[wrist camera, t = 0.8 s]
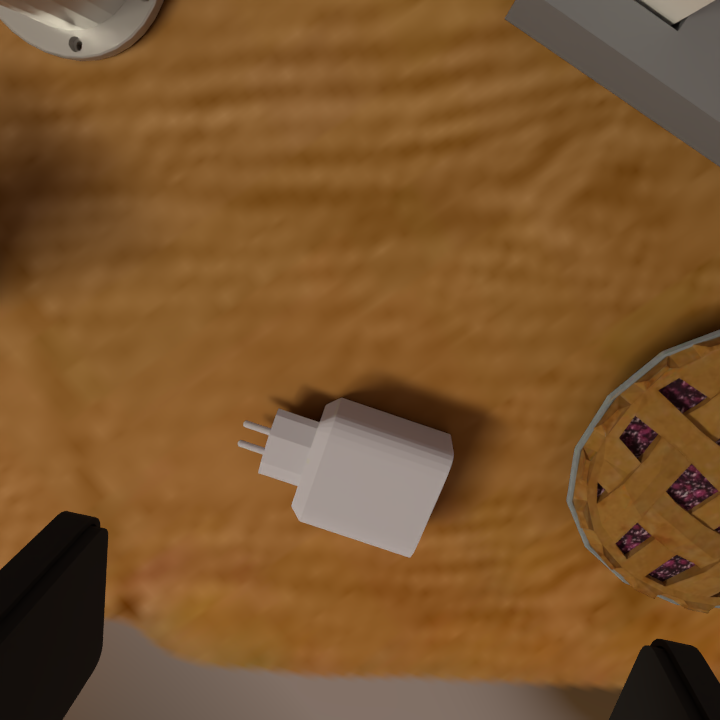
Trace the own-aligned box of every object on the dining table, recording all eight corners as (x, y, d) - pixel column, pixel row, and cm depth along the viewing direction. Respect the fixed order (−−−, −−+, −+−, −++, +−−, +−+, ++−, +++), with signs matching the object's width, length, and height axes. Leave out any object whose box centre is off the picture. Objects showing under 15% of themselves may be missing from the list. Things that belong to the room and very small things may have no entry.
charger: (265, 367, 42) (450, 430, 43) (235, 467, 45) (409, 525, 46) (248, 389, 38) (455, 459, 38) (216, 500, 41) (409, 563, 41)
